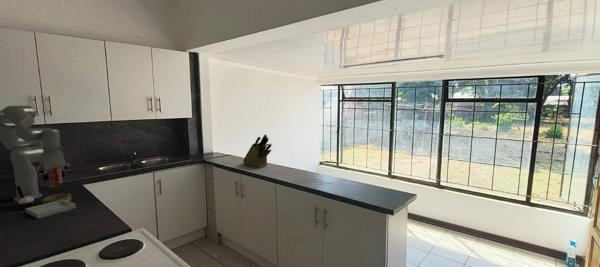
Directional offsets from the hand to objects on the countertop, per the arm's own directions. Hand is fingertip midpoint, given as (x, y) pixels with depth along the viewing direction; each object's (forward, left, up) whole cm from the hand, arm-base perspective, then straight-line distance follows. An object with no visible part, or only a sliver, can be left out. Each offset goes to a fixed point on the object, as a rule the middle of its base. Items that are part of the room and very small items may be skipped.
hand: (54, 179), depth 159 cm
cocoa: (-2, -12, -14) cm, 19 cm away
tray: (+16, -7, -14) cm, 22 cm away
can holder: (+1, 0, -14) cm, 14 cm away
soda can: (0, 0, -5) cm, 5 cm away
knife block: (+44, +137, -14) cm, 145 cm away
